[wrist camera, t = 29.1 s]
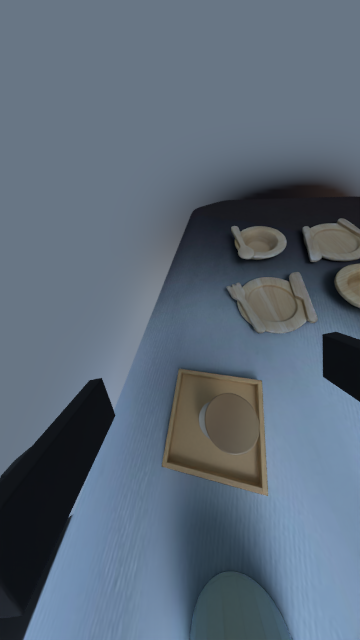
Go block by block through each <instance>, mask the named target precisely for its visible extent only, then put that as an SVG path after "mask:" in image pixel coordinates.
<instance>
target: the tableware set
mask: <svg viewBox="0 0 360 640" xmlns="http://www.w3.org/2000/svg"><path fill="white" fill-rule="evenodd" d="M231 232H232V233H233V235H234V237H235V247H236V248H237V250H238V255H239V256H240V257H241V258H243V259H254V260H261V259H265V258H270V257H273V256H276V255H278V254H279V253H281V252H282V251H283V250H284V248H285V247H286V238H285V236H284V235H283V234H282V233H281V232H279V231H278V230H275V229H273V228H270V227H264V226H255V227H250V228H247V229H245V230H243V231H241V232H240V231H239V228H238V227H237V226H233V227H232V228H231ZM302 232H303V236H304V244H305V246H306V247H307V251H308V255H309V260H310V262H317V261H319V260H320V259H321V258H325V259H329V260H334V261H352V260H357V259H360V229H358V228H357V227H356V226H354V225H353V224H351V223H350V222H349V221H347V220H345V219H339V220H338V221H337V224H332V223H329V224H320V225H317V226H314V227H312V228H309V227H308V226H305V227H303V229H302ZM334 283H335V287H336V289H337V291H338V292H339V294H340V295H341V296H342V297H343V298H344V299H345V300H346V301H347V302H349V303H350V304H351V305H353V306H355V307H358V308H360V264H353V265H349V266H346V267H344V268H342V269H341V270H340V271H339V272H338V273H337V274H336V276H335V280H334ZM226 288H227V290H228V292H229V293H230V295H231V297H232V298H233V299H235V300H237V305H238V309H239V311H240V313H241V315H242V316H243V318H244V319H245V320H246V321H247V322H249V323H250V324H251V325H252V326H253V328H254V329H255V331H256V332H257V333H263V332H264V331H266V332H271V333H287V332H291V331H294V330H296V329H298V328H299V327H301V326H302V325H303V324H304V323H305V322H306V321H308V322H310V323H315V322H316V321H317V320H318V318H317V315H316V312H315V310H314V307H313V305H312V302H311V300H310V297H309V295H308V292H307V290H306V287H305V285H304V282H303V280H302V277H301V275H300V273H299V272H294V273H292V274H291V275H290V276H289V281H286V280H283V279H279V278H274V277H262V278H257V279H254V280H251V281H249V282H248V283H246V284H245V285H244V286H243V287H242V286H241V284H240V283H236V286H235V285H234V284H233V285H232V287H231V286H227V287H226Z"/></svg>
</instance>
